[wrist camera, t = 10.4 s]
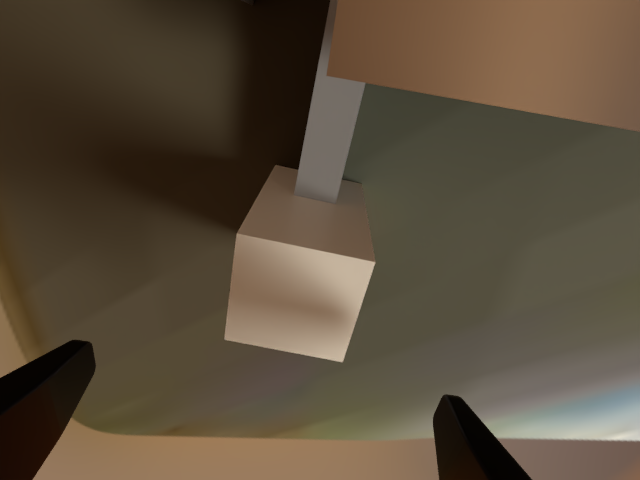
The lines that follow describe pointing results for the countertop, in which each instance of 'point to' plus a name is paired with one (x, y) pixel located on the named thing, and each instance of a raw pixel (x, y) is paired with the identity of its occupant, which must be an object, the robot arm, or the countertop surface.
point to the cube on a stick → (306, 236)
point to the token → (249, 1)
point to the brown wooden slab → (499, 53)
